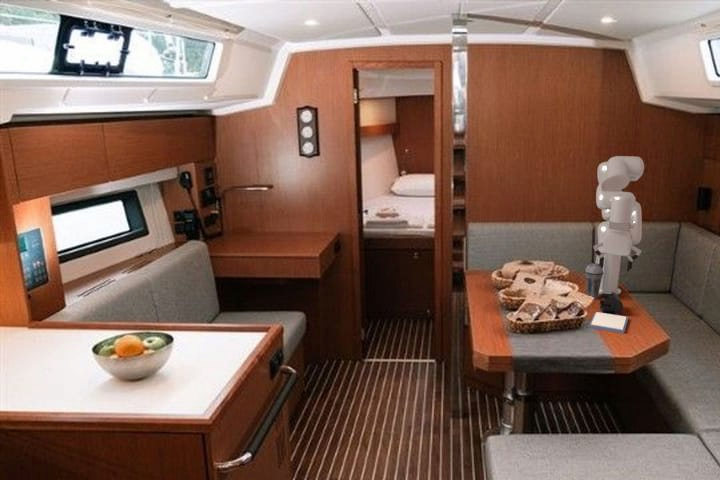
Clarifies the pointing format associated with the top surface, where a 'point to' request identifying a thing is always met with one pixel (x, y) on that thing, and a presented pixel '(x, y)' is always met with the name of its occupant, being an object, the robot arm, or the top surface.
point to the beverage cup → (593, 279)
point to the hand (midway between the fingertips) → (614, 268)
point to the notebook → (609, 322)
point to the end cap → (611, 304)
